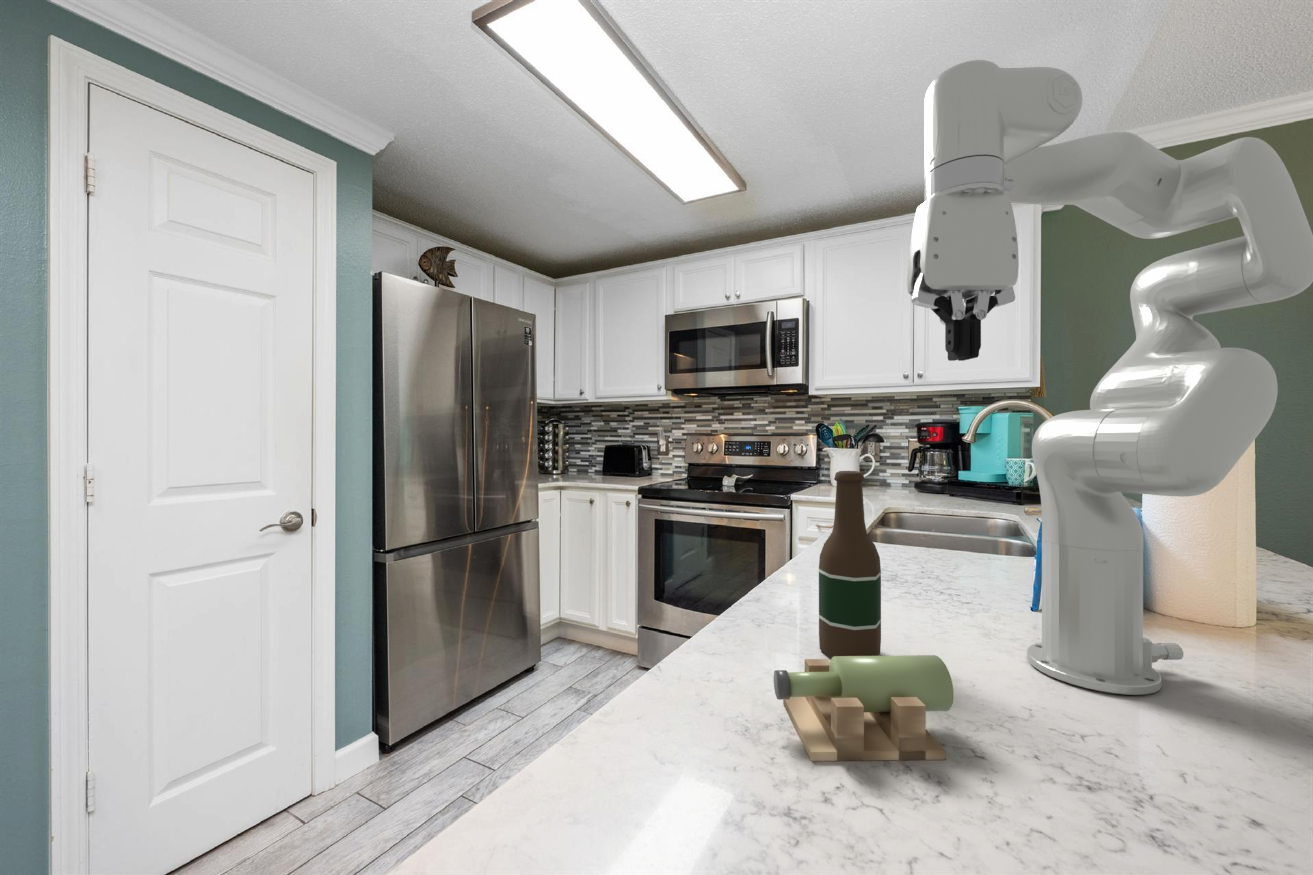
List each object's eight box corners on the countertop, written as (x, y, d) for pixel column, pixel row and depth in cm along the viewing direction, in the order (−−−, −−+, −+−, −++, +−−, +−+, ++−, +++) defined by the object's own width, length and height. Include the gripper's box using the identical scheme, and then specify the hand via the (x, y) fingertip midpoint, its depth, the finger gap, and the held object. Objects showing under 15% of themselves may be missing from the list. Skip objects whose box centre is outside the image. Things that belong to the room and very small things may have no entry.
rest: (894, 702, 58) (894, 658, 57) (945, 759, 48) (945, 705, 47) (783, 703, 57) (783, 659, 57) (811, 760, 47) (811, 706, 47)
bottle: (925, 647, 55) (770, 648, 55) (953, 667, 50) (783, 670, 50) (925, 695, 55) (770, 697, 55) (953, 721, 50) (783, 723, 50)
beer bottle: (887, 668, 66) (887, 473, 66) (821, 663, 67) (821, 473, 67) (875, 644, 74) (874, 469, 73) (816, 640, 75) (815, 469, 75)
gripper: (1007, 205, 62) (1007, 363, 62) (879, 205, 62) (879, 363, 62) (1057, 173, 55) (1056, 353, 55) (911, 173, 54) (911, 354, 55)
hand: (962, 358), depth 58 cm, fingers closed
